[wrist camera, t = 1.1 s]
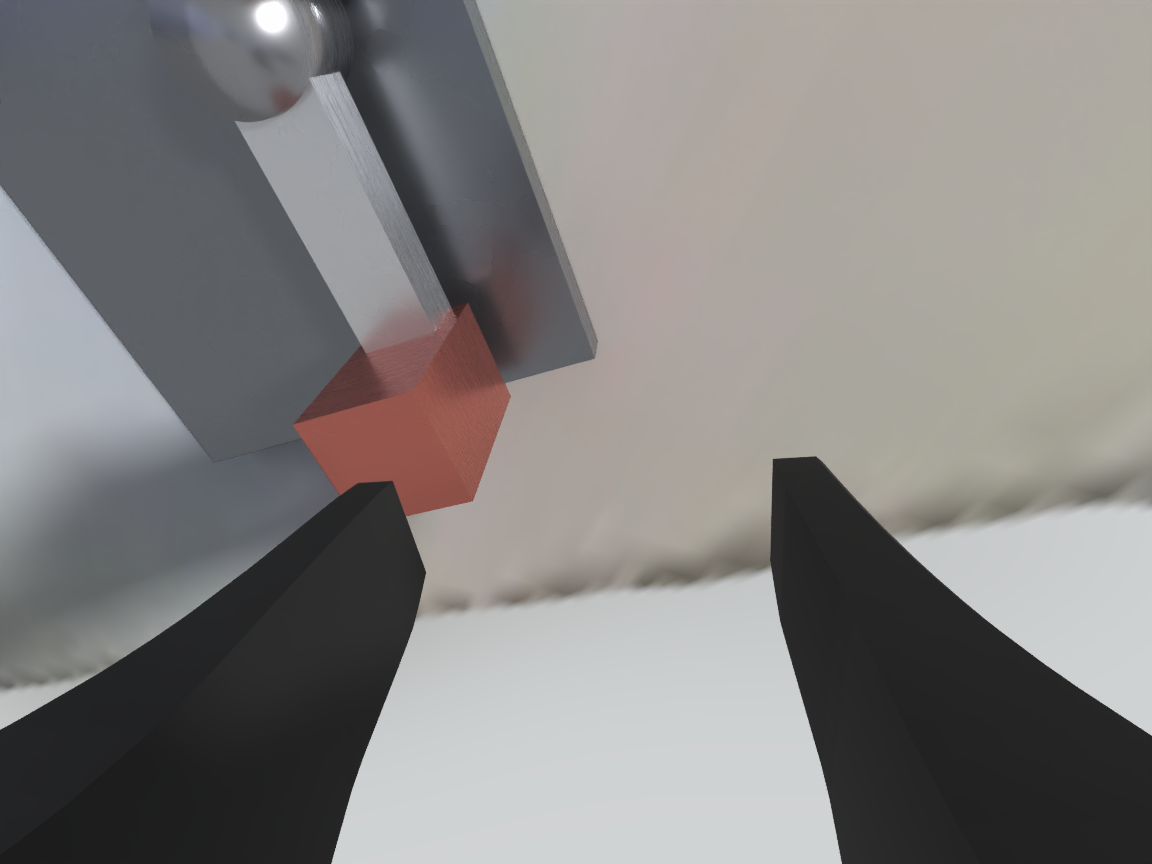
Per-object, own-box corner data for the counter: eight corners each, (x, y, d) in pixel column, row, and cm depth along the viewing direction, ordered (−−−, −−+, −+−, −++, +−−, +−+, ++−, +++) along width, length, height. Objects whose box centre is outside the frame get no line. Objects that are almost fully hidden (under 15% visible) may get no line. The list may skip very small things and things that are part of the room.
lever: (196, -16, 14) (-9, -25, 10) (308, -73, 14) (141, -113, 9) (425, 410, 20) (360, 526, 16) (514, 386, 19) (472, 501, 15)
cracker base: (232, 443, 24) (95, 586, 18) (-87, 9, 17) (-480, 10, 11) (610, 337, 20) (593, 474, 14) (397, -275, 13) (192, -501, 7)
